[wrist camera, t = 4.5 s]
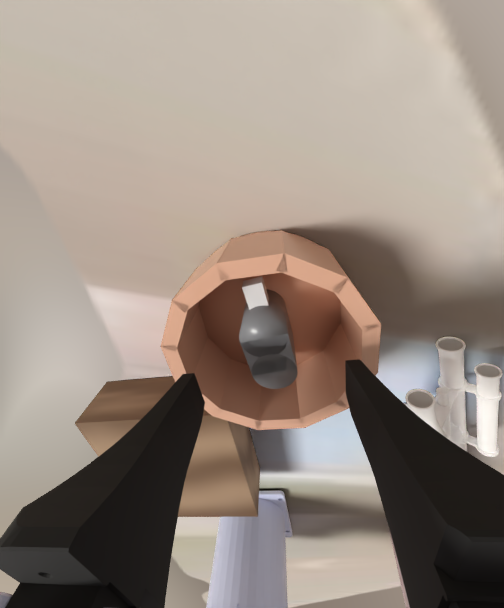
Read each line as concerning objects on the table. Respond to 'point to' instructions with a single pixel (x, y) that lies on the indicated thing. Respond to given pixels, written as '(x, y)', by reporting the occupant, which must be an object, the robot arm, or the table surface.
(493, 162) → the table surface
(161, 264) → the table surface
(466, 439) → the white joined tubes piece
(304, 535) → the table surface
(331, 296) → the bowl
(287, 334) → the connector
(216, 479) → the board
